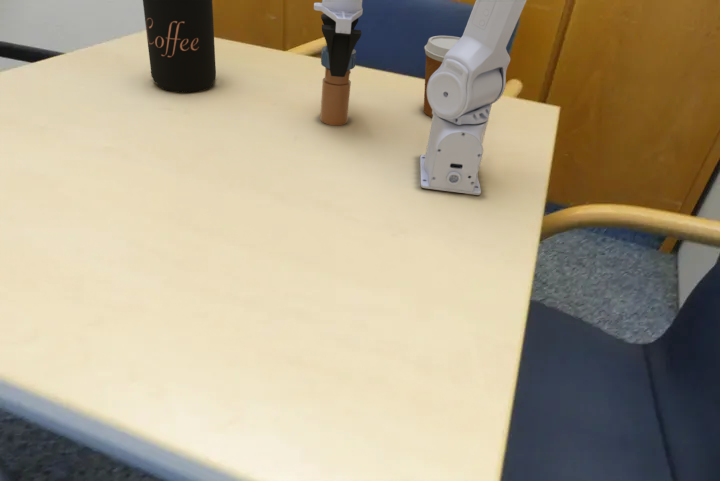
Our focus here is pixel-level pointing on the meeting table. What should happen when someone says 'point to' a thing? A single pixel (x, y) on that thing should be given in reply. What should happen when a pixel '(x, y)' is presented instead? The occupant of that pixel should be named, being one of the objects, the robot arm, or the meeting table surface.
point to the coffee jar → (181, 44)
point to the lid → (326, 58)
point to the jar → (335, 98)
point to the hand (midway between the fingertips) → (337, 69)
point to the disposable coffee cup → (435, 60)
